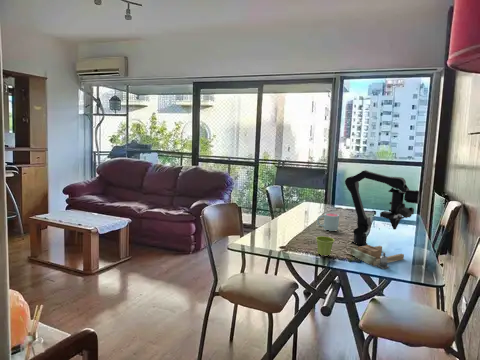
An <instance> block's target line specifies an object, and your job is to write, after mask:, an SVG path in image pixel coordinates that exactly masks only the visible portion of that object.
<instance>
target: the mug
mask: <svg viewBox="0 0 480 360" xmlns="http://www.w3.org/2000/svg"><path fill="white" fill-rule="evenodd" d="M322 218H323V224H321V223H320V219H322ZM339 221H340V214H338V213H333V212H325V213H324V214H323V215H319V216H318V218H317V219H316V223H317V225H318V226H319V227H323V230H324V229H325V230H329V231H335V230H338V231H339ZM325 230H324V231H325ZM329 231H328V232H329Z"/></svg>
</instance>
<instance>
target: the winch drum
mask: <svg viewBox="0 0 480 360" xmlns="http://www.w3.org/2000/svg"><path fill="white" fill-rule="evenodd" d="M387 258H388V256H386V252H383V255H381V256H380V264H378V265H376V267H377V268H379V269H382V270H386V269H390V266H389V265H388V263H387Z"/></svg>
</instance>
